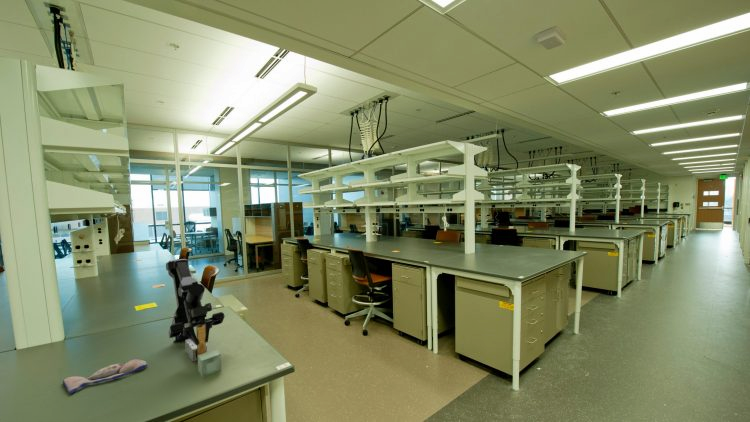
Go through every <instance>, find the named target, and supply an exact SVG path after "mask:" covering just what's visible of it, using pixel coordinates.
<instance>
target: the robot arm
mask: <svg viewBox="0 0 750 422" xmlns="http://www.w3.org/2000/svg"><path fill="white" fill-rule="evenodd" d="M189 265H190V264H189V260H188V259H187V258H180V259H174V260H173V259H171V260H168V262H166V263H165V270H166V271H167V272H168V273H167V275H169V277H170V278H172V280H173V286H174V293H175V300H176V309H175V312H174V314H173V318H172V321H171V325H170V326H169V328H168V329H169V330H168V339H169V338H170V339H172V338H174V340H173V343H174V344H175V343H185V340H187V339H191V340H192V341H193V342H194V343H195V344H196V345H198V340H197V333H196V332H195V328H196V327H197V326H199V325H205V328H206V343H208V342H209V335H210V329H212V328H213V327H215V326H217V325H221V324H223V322H224V320H225V317H226V316H225V314H224V312H223V311H220V312H215V313H213V314H212V315H211V317H208V318H207V315H208V312H211V311H212V310H213V307H212V303H211V302H208V303H205V304H204V305H203V304H202V299H203V296H204V293H205V290H206V289H205V288H206V287H205V286H204V285H203V284H201V283H199V282H198V280H197V279H196V278H193V276H192V274H191V271H190V268H189V267H190V266H189Z"/></svg>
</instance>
